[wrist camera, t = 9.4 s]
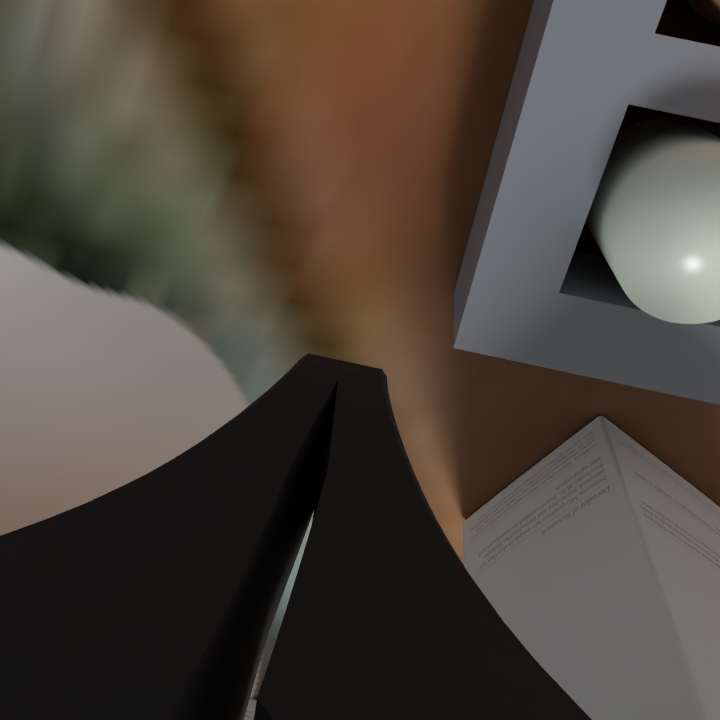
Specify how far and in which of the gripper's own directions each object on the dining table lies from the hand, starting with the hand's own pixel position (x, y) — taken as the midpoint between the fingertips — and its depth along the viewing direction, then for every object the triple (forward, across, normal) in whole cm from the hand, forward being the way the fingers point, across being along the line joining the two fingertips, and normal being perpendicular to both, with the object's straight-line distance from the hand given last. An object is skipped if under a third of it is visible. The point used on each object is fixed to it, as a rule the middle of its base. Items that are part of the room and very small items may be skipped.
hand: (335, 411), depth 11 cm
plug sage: (+10, -7, -2) cm, 12 cm away
